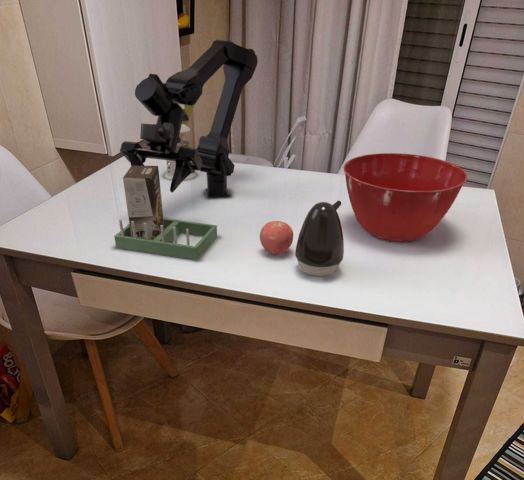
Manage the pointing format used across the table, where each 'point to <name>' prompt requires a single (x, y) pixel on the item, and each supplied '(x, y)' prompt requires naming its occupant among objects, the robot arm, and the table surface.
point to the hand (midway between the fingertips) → (153, 189)
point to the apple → (276, 237)
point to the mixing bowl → (401, 193)
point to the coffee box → (144, 200)
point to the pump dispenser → (320, 240)
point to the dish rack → (168, 239)
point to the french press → (182, 143)
